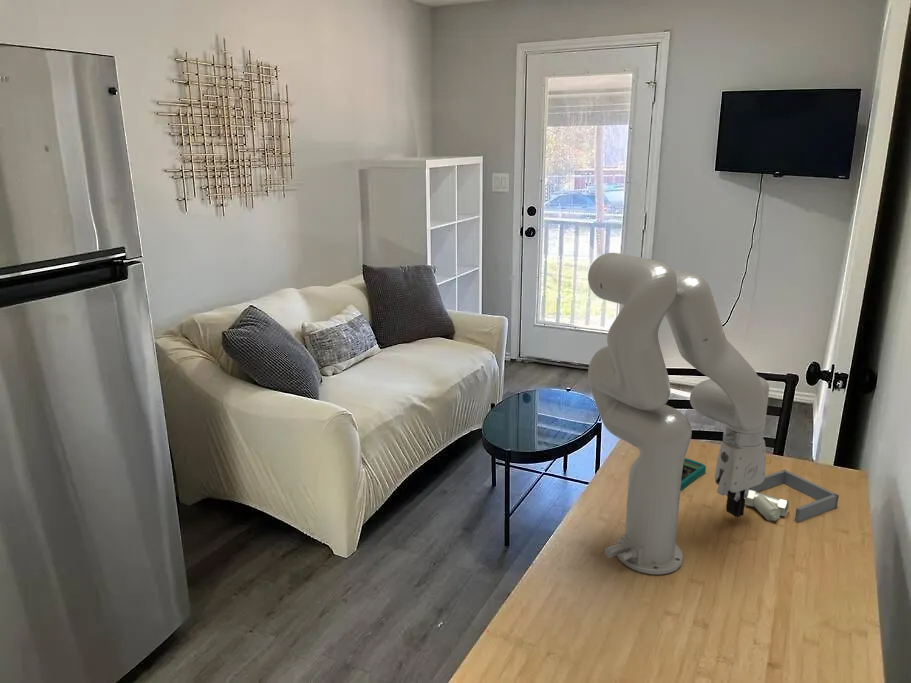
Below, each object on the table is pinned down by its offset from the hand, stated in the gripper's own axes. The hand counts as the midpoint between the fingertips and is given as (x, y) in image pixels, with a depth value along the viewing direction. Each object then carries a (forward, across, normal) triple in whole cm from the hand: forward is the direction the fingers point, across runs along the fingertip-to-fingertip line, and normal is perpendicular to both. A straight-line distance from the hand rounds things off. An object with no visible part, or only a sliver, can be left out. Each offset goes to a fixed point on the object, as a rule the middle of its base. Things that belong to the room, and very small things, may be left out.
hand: (734, 513), depth 140 cm
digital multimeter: (+3, +4, +20) cm, 20 cm away
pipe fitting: (+2, +8, -1) cm, 9 cm away
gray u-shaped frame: (+2, +17, 0) cm, 18 cm away
